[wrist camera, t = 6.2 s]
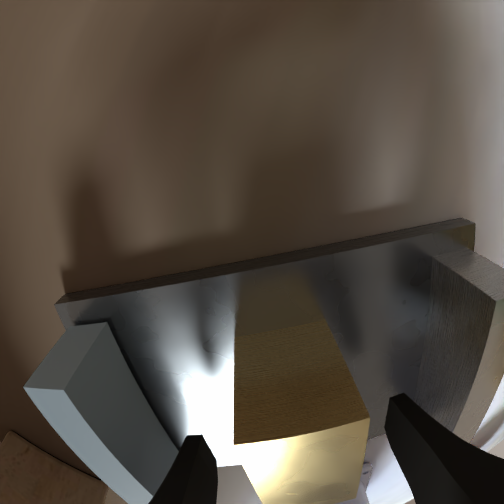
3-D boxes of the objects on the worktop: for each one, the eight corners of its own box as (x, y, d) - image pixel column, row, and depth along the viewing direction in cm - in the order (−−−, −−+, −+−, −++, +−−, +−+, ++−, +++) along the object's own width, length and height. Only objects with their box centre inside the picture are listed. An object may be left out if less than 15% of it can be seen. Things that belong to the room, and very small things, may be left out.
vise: (433, 401, 15) (466, 455, 10) (157, 455, 15) (145, 518, 11) (461, 217, 11) (541, 254, 6) (64, 294, 11) (2, 358, 7)
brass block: (331, 415, 13) (355, 498, 8) (261, 429, 13) (269, 515, 8) (325, 319, 11) (370, 417, 6) (234, 337, 11) (233, 445, 6)
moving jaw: (186, 462, 14) (179, 519, 10) (155, 462, 14) (144, 516, 10) (107, 321, 11) (63, 390, 7) (69, 326, 11) (23, 387, 7)
